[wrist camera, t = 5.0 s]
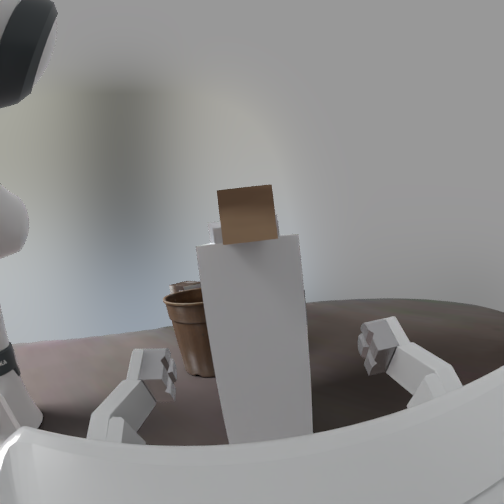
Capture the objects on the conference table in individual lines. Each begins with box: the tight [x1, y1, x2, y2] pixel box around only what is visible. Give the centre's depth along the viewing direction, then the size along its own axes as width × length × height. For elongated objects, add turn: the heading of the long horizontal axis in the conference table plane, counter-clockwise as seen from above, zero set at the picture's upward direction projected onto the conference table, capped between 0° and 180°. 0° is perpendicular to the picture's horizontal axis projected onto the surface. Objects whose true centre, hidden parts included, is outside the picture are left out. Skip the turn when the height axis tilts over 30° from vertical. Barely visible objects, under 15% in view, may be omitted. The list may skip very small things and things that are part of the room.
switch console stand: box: [196, 215, 313, 444], centre depth 37 cm, size 16×10×29 cm
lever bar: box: [217, 185, 278, 245], centre depth 31 cm, size 24×4×4 cm, turn 2°
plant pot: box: [163, 288, 215, 377], centre depth 61 cm, size 16×16×16 cm
